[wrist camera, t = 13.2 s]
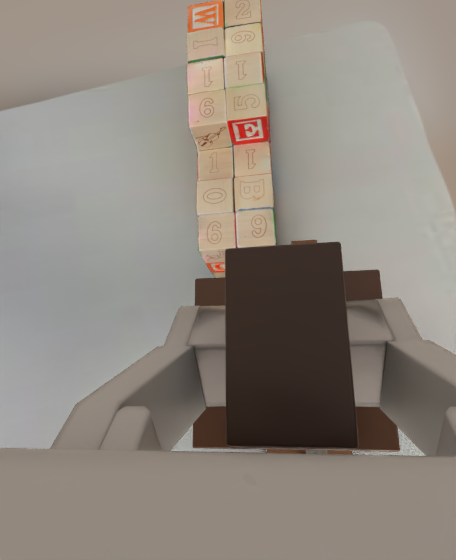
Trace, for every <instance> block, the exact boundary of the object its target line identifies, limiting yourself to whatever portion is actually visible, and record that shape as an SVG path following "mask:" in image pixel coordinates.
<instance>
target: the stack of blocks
mask: <svg viewBox="0 0 456 560" xmlns="http://www.w3.org/2000/svg"><path fill="white" fill-rule="evenodd" d="M260 2H261V1H260V0H224V2H223V0H216V1H212V2H206V3H201V4H196V5H191V6H188V34H187V55H188V56H187V57H188V65H187V92H188V118H189V129H190V131H191V134H192V137H193V139H194V142H195V145H196V148H197V150H198V152H197V162H198V182H197V191H196V204H197V217H198V251H199V252H200V254H201V256H202V257H203V259H204V260H205V264H206V265H207V267H208V268H209V270H210V271H211V272H212V274H213V275H214V277H215V278H221V277H225V250H226V249H229V248H245V247H261V246H276V232H275V214H274V194H273V180H272V168H271V152H270V125H269V98H268V85H267V77H266V65H265V52H264V38H263V27H262V16H261V15H262V14H261V3H260Z"/></svg>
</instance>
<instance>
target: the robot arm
mask: <svg viewBox="0 0 456 560" xmlns="http://www.w3.org/2000/svg"><path fill="white" fill-rule="evenodd" d="M346 307H347V319H348V330H349V341H350V352H351V363H352V374H353V385H354V397H355V406H360V407H380V409H381V410H382V411H383V412H384V413H385V414H386V415H387V416H388V417H389V418H390V419H391V420H392V421H393V422H394V423H395V425H396V426H397V427H398V428H399V429H400V430H401V431H402V432H403V433H404V434H405V435H406V436H407V437H408V438H409V439H410V440H411V441H412V442H413V443H414V444H415V445H416V446H417V447H418V448H419V449H420V450H421V451H422V452H423V453H424V454H425V455H426V456H398V455H350V454H295V453H240V452H185V451H171V449H172V448H173V447H174V446H175V445H176V444H177V442H178V441H179V440H180V439H181V438H182V436H183V435H184V434H185V433H186V432H187V430H188V429H189V428H190V427H191V426H192V425H193V423H194V422H195V421H196V420H197V419H198V417H199V416H200V415H201V414H202V413H203V412H204V410H205V409H206V407H217V406H226V354H225V305H211V306H181V307H180V308H179V309H178V311H177V313H176V316H175V318H174V321H173V323H172V326H171V328H170V331H169V334H168V336H167V339H166V341H165V344H164V346H161V347H156V348H155V349H154V350H152V351H151V352H149V353H148V354H147V355H145V356H144V357H142V358H141V359H139V360H138V361H137V362H135V363H134V364H132V365H131V366H130V367H128V368H127V369H125V370H124V371H122V372H121V373H120V374H118V375H117V376H115V377H114V378H113V379H111V380H110V381H108V382H107V383H105V384H104V385H103V386H101V387H100V388H98V389H97V390H96V391H94V392H93V393H91V394H90V395H88V396H87V397H86V398H84V399H83V400H81V401H80V402H79V403H77V404H76V405H75V407H74V408H73V410H72V412H71V413H70V415H69V417H68V419H67V420H66V422H65V424H64V425H63V427H62V429H61V431H60V432H59V434H58V436H57V438H56V439H55V441H54V443H53V444H52V446H51V448H50V449H27V448H0V560H456V355H455V354H453V353H451V352H449V351H448V350H446V349H444V348H442V347H440V346H439V345H437V344H435V343H433V342H432V341H430V340H422V338H421V337H420V335H419V333H418V331H417V329H416V327H415V325H414V323H413V321H412V320H411V318H410V316H409V314H408V312H407V310H406V308H405V306H404V305H403V303H402V301H401V299H399V298H385V299H375V300H358V301H346Z"/></svg>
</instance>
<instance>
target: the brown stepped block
mask: <svg viewBox="0 0 456 560" xmlns="http://www.w3.org/2000/svg"><path fill="white" fill-rule="evenodd" d="M375 299H382V290H381V282H380V273H379V270H362V271H343V263H342V252H341V244H340V242H327V243H311V244H294V245H278V246H261V247H245V248H229V249H226V250H225V277H221V278H201V279H196V280H195V306H211V305H225V354H226V406H217V407H206V409H205V410H204V412H203V413H202V414H201V415H200V416H199V417H198V419H197V420H196V421H195V422H194V423H193V448H216V449H272V450H329V451H385V452H399V451H400V446H399V437H398V428H397V426H396V425H395V423H394V422H393V421H392V420H391V419H390V418H389V417H388V416H387V415H386V414H385V413H384V412H383V411H382V410H381V409H380V407H360V406H355V397H354V385H353V374H352V363H351V352H350V341H349V330H348V319H347V307H346V301H358V300H375Z"/></svg>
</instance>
